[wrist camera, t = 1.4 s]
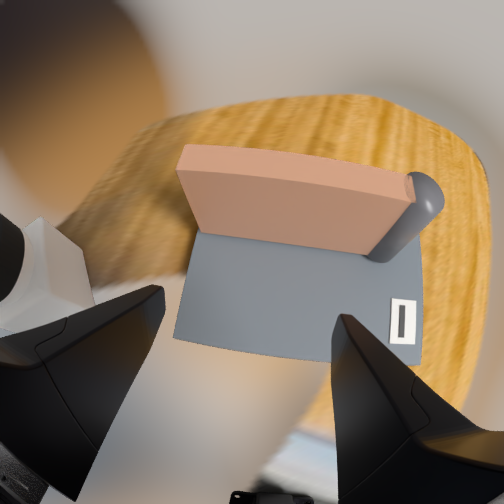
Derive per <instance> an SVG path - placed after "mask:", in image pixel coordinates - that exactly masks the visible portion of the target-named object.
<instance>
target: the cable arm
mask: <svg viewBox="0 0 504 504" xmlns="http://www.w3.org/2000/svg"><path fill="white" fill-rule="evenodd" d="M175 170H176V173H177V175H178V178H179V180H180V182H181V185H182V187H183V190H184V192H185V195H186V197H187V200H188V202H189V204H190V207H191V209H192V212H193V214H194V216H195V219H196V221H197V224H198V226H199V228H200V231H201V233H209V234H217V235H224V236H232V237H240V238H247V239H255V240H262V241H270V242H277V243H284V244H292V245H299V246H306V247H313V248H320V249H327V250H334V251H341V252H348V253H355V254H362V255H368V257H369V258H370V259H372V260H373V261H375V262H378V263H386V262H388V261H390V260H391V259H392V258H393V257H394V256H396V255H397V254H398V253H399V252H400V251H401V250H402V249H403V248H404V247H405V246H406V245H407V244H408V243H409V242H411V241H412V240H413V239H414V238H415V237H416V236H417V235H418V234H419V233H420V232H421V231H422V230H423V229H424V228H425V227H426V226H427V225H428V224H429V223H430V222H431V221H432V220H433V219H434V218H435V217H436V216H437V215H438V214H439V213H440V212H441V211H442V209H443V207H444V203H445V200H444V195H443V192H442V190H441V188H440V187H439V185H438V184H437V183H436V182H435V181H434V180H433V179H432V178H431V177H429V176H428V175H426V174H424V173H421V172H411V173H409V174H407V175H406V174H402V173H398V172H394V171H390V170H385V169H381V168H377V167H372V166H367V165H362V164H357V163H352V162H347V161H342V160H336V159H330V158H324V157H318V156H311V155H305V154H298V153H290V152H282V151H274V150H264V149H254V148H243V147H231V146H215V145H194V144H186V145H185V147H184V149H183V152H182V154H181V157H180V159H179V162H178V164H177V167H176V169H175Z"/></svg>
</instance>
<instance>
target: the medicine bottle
mask: <svg viewBox="0 0 504 504" xmlns="http://www.w3.org/2000/svg"><path fill="white" fill-rule="evenodd" d="M93 306H95V303H94V298H93V295H92V291H91V287H90V283H89V279H88V274H87V270H86V265H85V261H84V256H83V251H82V249H81V248H79V247H78V246H77V245H76V244H74V243H73V242H72V241H71V240H69V239H68V238H67V237H66V236H64V235H63V234H62V233H61V232H59V231H58V230H57V229H56V228H55V227H53V226H52V225H51V224H50V223H49V222H47V221H46V220H45V219H44V218H42V217H39V218H37V219H36V220H34V221H33V222H31V223H30V224H29V225H27V226H26V227H25V228H23V229H22V230H21V229H20V228H18V227H17V226H16V225H14V224H13V223H12V222H11V221H9V220H8V219H7V218H5V217H4V216H3V215H1V214H0V328H1V329H4V330H8V331H11V332H15V333H19V332H22V331H26V330H29V329H33V328H36V327H39V326H42V325H45V324H48V323H51V322H54V321H56V320H59V319H62V318H64V317H68V316H70V315H72V314H75V313H77V312H80V311H83V310H85V309H88V308H91V307H93Z"/></svg>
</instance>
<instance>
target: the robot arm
mask: <svg viewBox="0 0 504 504" xmlns="http://www.w3.org/2000/svg"><path fill="white" fill-rule="evenodd" d="M165 310H166V309H165V293H164V288H163V287H162V286H158V285H149V286H146V287H143V288H141V289H138V290H135V291H133V292H130V293H128V294H125V295H122V296H120V297H117V298H114V299H112V300H109V301H106V302H104V303H101V304H98V305H96V306H93V307H91V308H88V309H85V310H83V311H80V312H77V313H75V314H72V315H70V316H68V317H64V318H62V319H59V320H56V321H54V322H51V323H48V324H45V325H42V326H39V327H36V328H33V329H29V330H26V331H22V332H19V333H16V334H12V335H9V336H5V337H2V338H0V504H40V502H41V500H42V498H43V496H44V494H45V493H46V491H47V489H48V487H49V486H50V487H52V488H53V489H55V490H56V491H58V492H59V493H61V494H62V495H64V496H65V497H67V498H69V499H70V500H72V501H74V502H76V500H77V498H78V496H79V493H80V491H81V489H82V486H83V484H84V482H85V480H86V478H87V475H88V473H89V471H90V469H91V467H92V464H93V462H94V460H95V458H96V456H97V454H98V451H99V449H100V447H101V445H102V443H103V441H104V439H105V437H106V434H107V432H108V430H109V428H110V426H111V424H112V422H113V420H114V418H115V416H116V414H117V412H118V410H119V408H120V406H121V404H122V402H123V400H124V398H125V397H126V394H127V392H128V391H129V389H130V387H131V385H132V383H133V381H134V379H135V377H136V375H137V374H138V372H139V370H140V368H141V366H142V364H143V362H144V360H145V358H146V357H147V355H148V353H149V351H150V349H151V346H152V344H153V342H154V339H155V337H156V334H157V331H158V329H159V327H160V324H161V322H162V319H163V317H164V314H165ZM331 387H332V398H333V408H334V420H335V434H336V450H337V470H338V499H339V500H338V504H504V431H489V430H485V429H482V428H480V427H478V426H476V425H475V424H474V423H472V422H471V421H470V420H468V419H467V418H466V417H465V416H463V415H462V414H461V413H460V412H459V411H457V410H456V409H455V408H454V407H452V406H451V405H450V404H449V403H447V402H446V401H445V400H444V399H442V398H441V397H440V396H439V395H438V394H436V393H435V392H434V391H433V390H432V389H431V388H430V387H429V386H428V385H427V384H425V383H424V382H423V381H422V380H421V379H420V378H419V377H418V376H416V374H415V373H414V372H413V371H412V370H411V369H410V368H409V367H408V366H406V365H405V364H404V363H403V362H402V361H401V360H400V359H399V358H398V357H397V356H396V355H395V354H394V353H393V352H392V351H391V350H389V349H388V348H387V347H386V346H385V345H384V344H383V343H382V342H381V341H380V340H379V339H378V338H377V337H376V336H374V335H373V334H372V333H371V332H370V331H369V330H368V329H367V328H366V327H365V326H364V325H363V324H361V323H360V322H359V321H358V320H357V319H356V318H355V317H354V316H353V315H351V314H342V313H341V314H339V315H338V317H337V320H336V324H335V327H334V330H333V333H332V338H331ZM235 495H239V496H240V497H239V498H236V497H235ZM306 501H310V502H309V503H307V504H314V500H313V498H311V497H299V496H291V495H287V494H273V493H263V492H259V493H250V492H243V491H234V492H232V494H231V498H230V502H229V504H306V503H305V502H306Z"/></svg>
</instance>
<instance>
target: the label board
mask: <svg viewBox="0 0 504 504" xmlns="http://www.w3.org/2000/svg"><path fill="white" fill-rule="evenodd" d="M341 313H342V314H351V315H353V316H354V317H355V318H356V319H357V320H358V321H359V322H360V323H361V324H363V325H364V326H365V327H366V328H367V329H368V330H369V331H370V332H371V333H372V334H373V335H374V336H376V337H377V338H378V339H379V340H380V341H381V342H382V343H383V344H384V345H385V346H386V347H387V348H388V349H389V350H391V351H392V352H393V353H394V354H395V355H396V356H397V357H398V358H399V359H400V360H401V361H402V362H403V363H404V364H405V365H406V366H415V365H420V364H421V352H422V335H423V276H422V259H421V247H420V236H419V234H418V235H417V236H416V237H415V238H414V239H413V240H412V241H411V242H409V243H408V244H407V245H406V246H405V247H404V248H403V249H402V250H401V251H400V252H399V253H398V254H397V255H396V256H394V257H393V258H392V259H391V260H390V261H388V262H386V263H378V262H375V261H373V260H372V259H370V258H369V257H368V255H362V254H355V253H348V252H341V251H334V250H327V249H320V248H313V247H306V246H299V245H292V244H284V243H277V242H270V241H262V240H255V239H247V238H240V237H232V236H224V235H217V234H209V233H201V231H200V228H198V231H197V235H196V239H195V243H194V247H193V251H192V255H191V259H190V263H189V267H188V271H187V275H186V280H185V284H184V289H183V293H182V297H181V301H180V306H179V311H178V315H177V320H176V325H175V330H174V335H173V338H175V339H179V340H183V341H188V342H193V343H197V344H202V345H207V346H212V347H218V348H223V349H229V350H234V351H240V352H246V353H253V354H260V355H266V356H274V357H282V358H289V359H298V360H309V361H318V362H330V363H331V338H332V333H333V330H334V327H335V324H336V320H337V317H338V315H339V314H341Z"/></svg>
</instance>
